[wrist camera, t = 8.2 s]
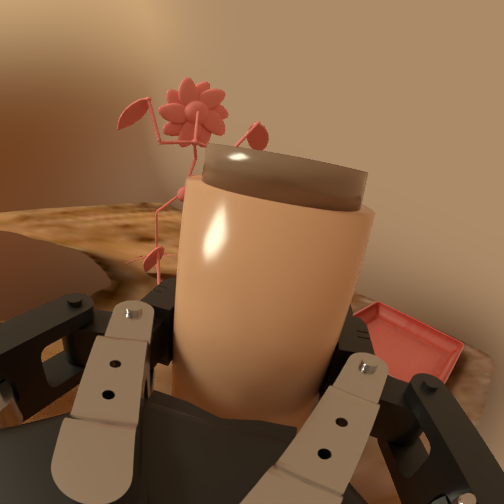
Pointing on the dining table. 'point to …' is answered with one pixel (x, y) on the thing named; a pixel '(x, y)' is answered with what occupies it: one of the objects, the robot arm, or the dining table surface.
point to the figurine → (188, 132)
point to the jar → (264, 281)
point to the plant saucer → (409, 343)
